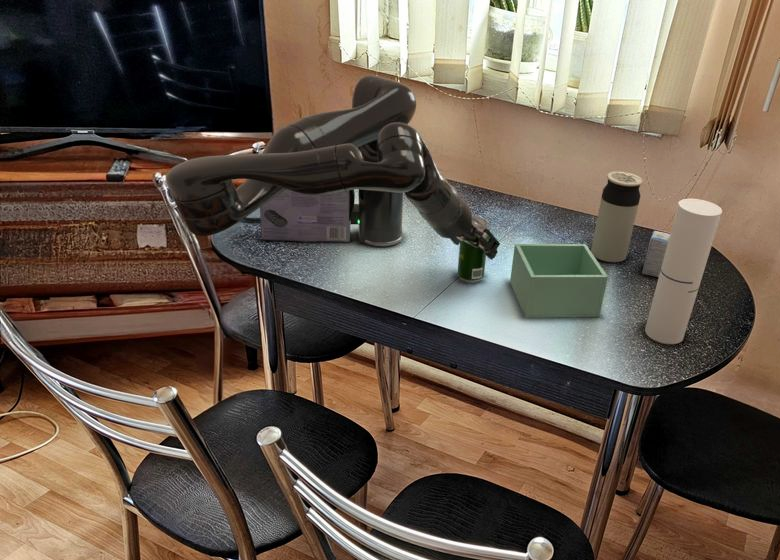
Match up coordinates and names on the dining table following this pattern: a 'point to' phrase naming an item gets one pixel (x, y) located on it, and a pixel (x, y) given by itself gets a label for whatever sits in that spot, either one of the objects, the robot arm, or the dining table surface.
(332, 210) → the cake pan box
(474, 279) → the beer can
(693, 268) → the cylindrical container
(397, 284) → the dining table surface
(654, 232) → the medicine box
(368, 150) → the robot arm
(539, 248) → the bin
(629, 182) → the travel mug
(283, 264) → the dining table surface
